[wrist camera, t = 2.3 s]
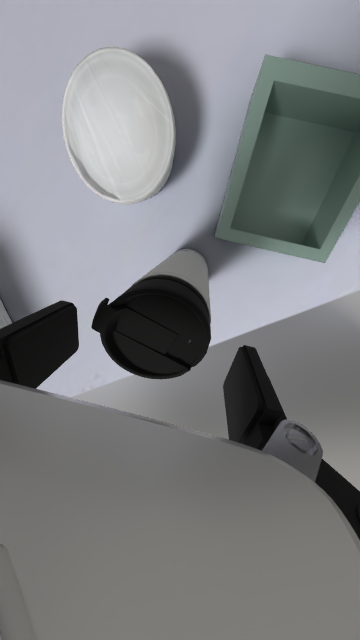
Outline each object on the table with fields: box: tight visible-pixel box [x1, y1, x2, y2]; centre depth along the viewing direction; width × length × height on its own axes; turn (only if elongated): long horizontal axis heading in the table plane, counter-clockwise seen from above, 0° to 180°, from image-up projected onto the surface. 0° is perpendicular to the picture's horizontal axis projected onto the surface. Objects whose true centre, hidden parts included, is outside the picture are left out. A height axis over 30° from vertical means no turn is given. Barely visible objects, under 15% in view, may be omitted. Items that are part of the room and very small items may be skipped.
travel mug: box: [92, 249, 211, 379], centre depth 18 cm, size 6×7×20 cm
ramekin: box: [62, 47, 176, 204], centre depth 20 cm, size 11×11×5 cm
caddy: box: [214, 55, 360, 263], centre depth 19 cm, size 13×12×5 cm
